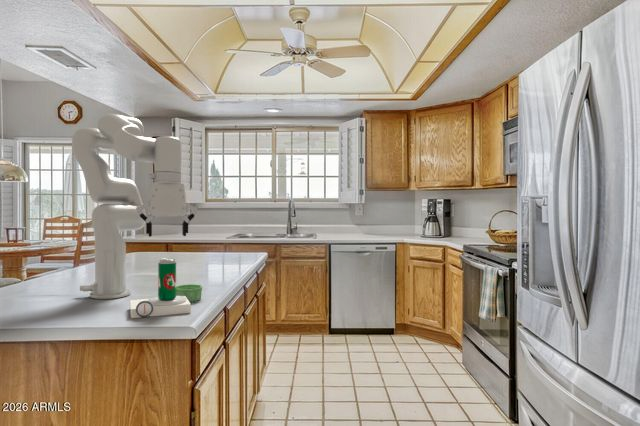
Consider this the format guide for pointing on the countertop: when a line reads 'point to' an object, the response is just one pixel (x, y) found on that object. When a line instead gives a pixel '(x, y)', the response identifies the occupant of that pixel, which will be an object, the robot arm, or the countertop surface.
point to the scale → (159, 307)
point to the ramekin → (189, 291)
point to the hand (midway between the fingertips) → (167, 235)
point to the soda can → (167, 279)
